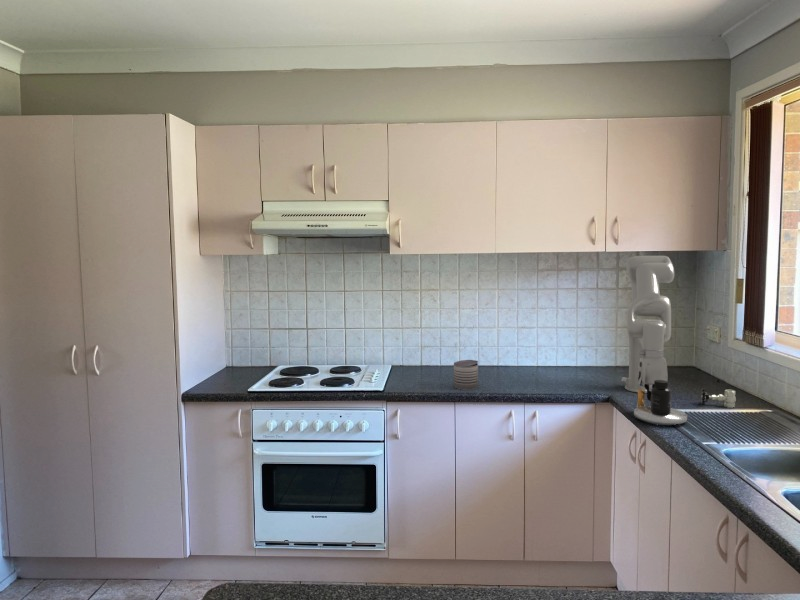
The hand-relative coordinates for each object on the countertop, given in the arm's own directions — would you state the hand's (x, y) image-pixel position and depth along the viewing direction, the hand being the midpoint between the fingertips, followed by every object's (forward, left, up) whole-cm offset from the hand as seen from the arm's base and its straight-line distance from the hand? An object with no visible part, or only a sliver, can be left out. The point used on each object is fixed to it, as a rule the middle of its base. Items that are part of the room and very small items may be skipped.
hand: (651, 400), depth 219 cm
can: (-75, -28, -5) cm, 80 cm away
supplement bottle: (+7, -7, -2) cm, 10 cm away
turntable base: (+7, -7, -5) cm, 11 cm away
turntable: (+6, -6, -3) cm, 9 cm away
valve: (+13, +29, -5) cm, 32 cm away
